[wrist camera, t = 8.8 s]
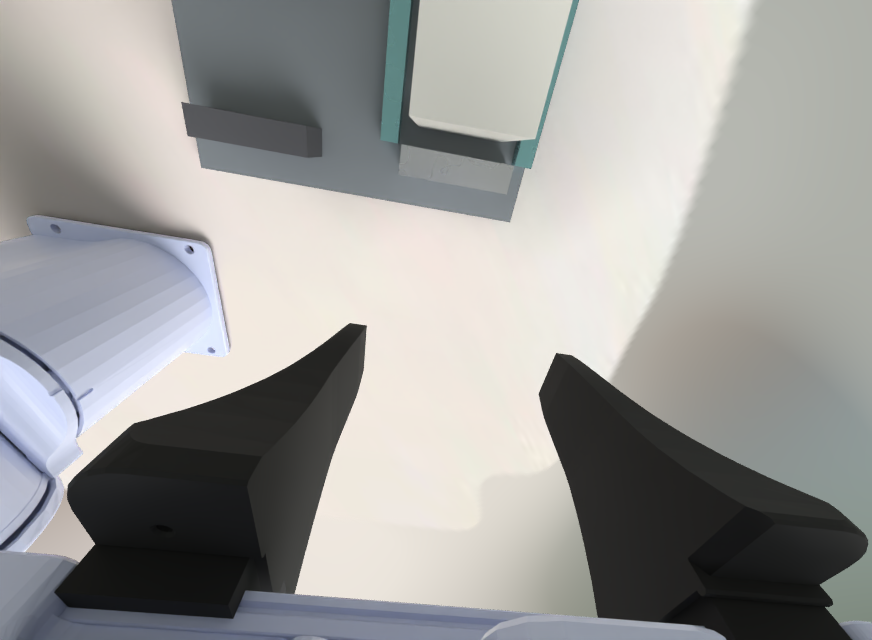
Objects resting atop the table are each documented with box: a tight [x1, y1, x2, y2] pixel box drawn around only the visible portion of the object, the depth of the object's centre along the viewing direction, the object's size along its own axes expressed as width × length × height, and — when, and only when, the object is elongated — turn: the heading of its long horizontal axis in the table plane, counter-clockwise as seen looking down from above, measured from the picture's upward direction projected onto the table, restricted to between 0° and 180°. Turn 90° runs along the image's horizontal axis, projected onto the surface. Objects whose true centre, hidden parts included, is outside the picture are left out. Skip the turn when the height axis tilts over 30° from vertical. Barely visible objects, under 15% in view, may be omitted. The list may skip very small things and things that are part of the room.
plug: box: [409, 0, 573, 142], centre depth 11 cm, size 4×5×6 cm
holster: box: [181, 102, 322, 158], centre depth 12 cm, size 5×9×2 cm, turn 170°
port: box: [380, 0, 579, 195], centre depth 13 cm, size 7×9×2 cm
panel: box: [172, 0, 525, 222], centre depth 14 cm, size 16×12×1 cm
